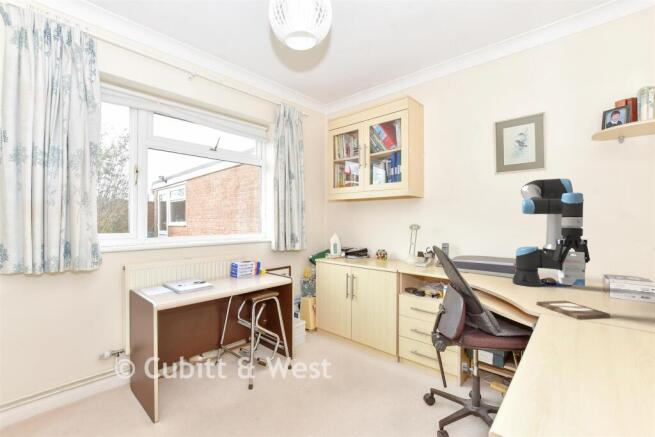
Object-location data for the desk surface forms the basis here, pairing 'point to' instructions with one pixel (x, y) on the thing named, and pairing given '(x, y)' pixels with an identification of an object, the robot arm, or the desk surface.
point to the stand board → (573, 309)
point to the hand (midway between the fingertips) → (571, 277)
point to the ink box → (574, 269)
